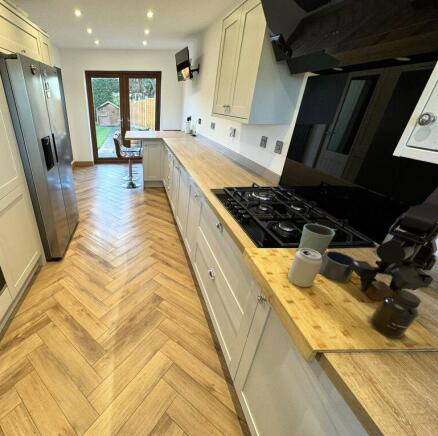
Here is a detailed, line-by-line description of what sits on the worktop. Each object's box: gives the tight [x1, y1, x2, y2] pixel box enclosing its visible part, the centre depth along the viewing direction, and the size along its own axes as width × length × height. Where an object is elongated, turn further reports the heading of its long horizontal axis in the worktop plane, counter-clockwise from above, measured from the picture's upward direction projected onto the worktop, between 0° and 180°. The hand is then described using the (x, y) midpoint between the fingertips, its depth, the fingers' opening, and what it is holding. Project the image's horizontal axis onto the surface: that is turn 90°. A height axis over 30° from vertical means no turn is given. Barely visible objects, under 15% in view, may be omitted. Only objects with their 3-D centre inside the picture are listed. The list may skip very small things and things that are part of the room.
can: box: [287, 248, 323, 288], centre depth 79 cm, size 8×8×12 cm
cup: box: [318, 250, 355, 283], centre depth 84 cm, size 9×9×7 cm
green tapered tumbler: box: [297, 223, 336, 259], centre depth 94 cm, size 10×10×12 cm
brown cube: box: [364, 280, 393, 302], centre depth 76 cm, size 4×4×4 cm
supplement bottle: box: [369, 289, 422, 339], centre depth 62 cm, size 7×7×12 cm
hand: (375, 293), depth 76 cm, fingers open, 7 cm apart
